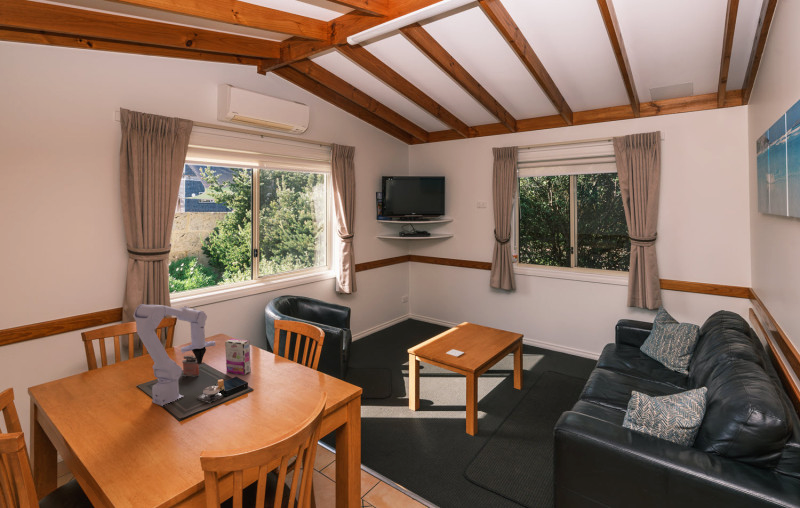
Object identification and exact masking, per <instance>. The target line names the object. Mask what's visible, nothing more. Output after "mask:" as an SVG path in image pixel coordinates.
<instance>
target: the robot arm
mask: <svg viewBox="0 0 800 508" xmlns="http://www.w3.org/2000/svg"><path fill="white" fill-rule="evenodd" d="M132 316H133V318H134V321H135V326H136V334H137V335H138V338H139V339H140V341H141V342H142V344H143V345H144V347H145V349H146V351H147V352H148V354H149V356H150V357H151V360H152V361H153V362H154V364H153V365H152V367H151V368H152V370H153V375H154V377H155V378H157V382H156V383H155V384H154V385H152V388H151V391H152V396H151V397H152V401H151V402H152V403H153V404H156V405H158V406H160V407H164V406H163V405H164V404H165V403H170V402H172V401H174V402H176V401H178V400H180V399H179V398H181V397H183V398H184V397H185V396H184V395H182V394H180V390H179V389H180V388H179V387H180V386H179V379H180V378H181V376H182V373H183V367H181V366H180V365H179V364H177V362H176V361H174V360H173V359H171V358H170V356H169V355H168V353H167V351H166V349H165V347H164V346H163V344H162V342H161V340H160V338H159V336H158V335H157V333H156V331H155V330H156V329H157V328H158V327H159V325H160V323H161V322H162V320H163V319H164V318H165V317H167V316H173V317H176V318H177V320H179V321H182V322H183V321H184V322H188V323H190V324H189V326H190V337H191V338H190V340H191V341H190V343H191V344H190V345H189V344H188V345H186V346H183V347H180V352H181V353H182V354H183V353H186V352H190V351H191V352H192V354H193V355H194V357H196V360H197V363H198V364H199V365H202V363H203V358H204V356H205V353H206V352H207V348H209V347H215V346H216V341H215V340H210V341H206V335H205V334H206V333H205V330H206V329H205V326H206V320H207V318H208V315H207V314H206V312H205V311H203V310H197V308H189V306H182V307H179V308H175V307H171V306H168V305H162V304H146V303H145V304H144V303H142V304H141V303H140V304H139V305H138V306H136V307H135V310H134V313H133V315H132ZM177 399H178V400H177ZM181 399H182V398H181ZM175 400H176V401H175ZM172 403H173V402H172ZM170 404H171V403H170Z"/></svg>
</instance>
